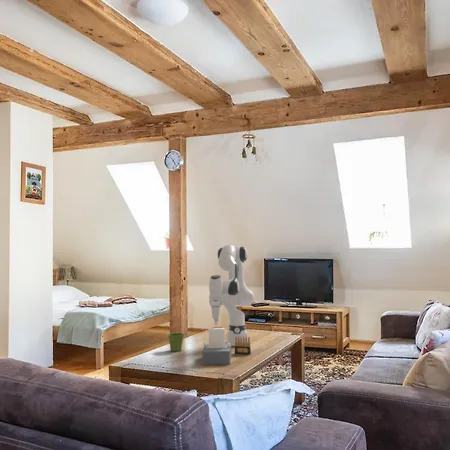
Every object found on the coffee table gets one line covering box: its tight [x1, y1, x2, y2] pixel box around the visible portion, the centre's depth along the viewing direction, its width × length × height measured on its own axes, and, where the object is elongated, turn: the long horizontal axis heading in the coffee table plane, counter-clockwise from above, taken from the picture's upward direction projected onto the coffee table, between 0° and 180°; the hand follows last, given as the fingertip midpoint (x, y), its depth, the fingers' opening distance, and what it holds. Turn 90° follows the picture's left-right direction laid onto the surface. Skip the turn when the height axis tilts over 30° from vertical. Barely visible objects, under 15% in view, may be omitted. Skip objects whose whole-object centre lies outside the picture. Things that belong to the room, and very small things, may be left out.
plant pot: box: [167, 332, 185, 352], centre depth 351 cm, size 12×12×11 cm
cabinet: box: [201, 342, 232, 365], centre depth 320 cm, size 21×17×11 cm
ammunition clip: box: [234, 336, 252, 356], centre depth 338 cm, size 11×2×12 cm, turn 73°
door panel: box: [208, 327, 226, 348], centre depth 321 cm, size 3×10×12 cm, turn 88°
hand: (216, 323), depth 321 cm, fingers open, 8 cm apart
